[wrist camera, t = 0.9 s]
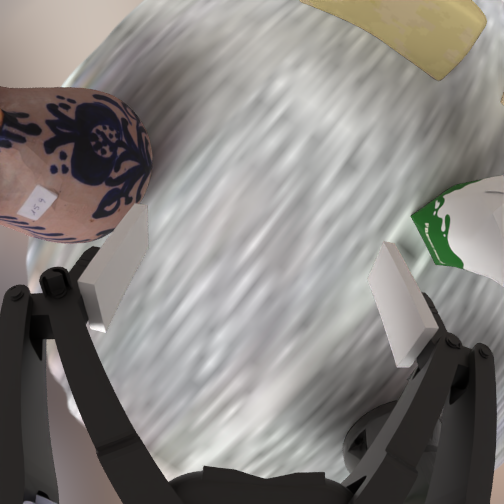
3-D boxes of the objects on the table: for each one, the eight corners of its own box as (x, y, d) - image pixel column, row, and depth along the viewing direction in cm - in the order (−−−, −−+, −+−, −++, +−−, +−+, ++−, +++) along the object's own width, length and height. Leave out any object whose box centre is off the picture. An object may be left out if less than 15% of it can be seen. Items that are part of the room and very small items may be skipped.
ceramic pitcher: (180, 226, 37) (20, 237, 13) (56, 252, 40) (-85, 277, 16) (164, 95, 36) (41, -8, 11) (47, 142, 39) (-81, 112, 14)
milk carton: (480, 237, 33) (590, 251, 13) (431, 275, 34) (534, 320, 14) (451, 177, 33) (559, 150, 13) (399, 213, 34) (499, 209, 14)
